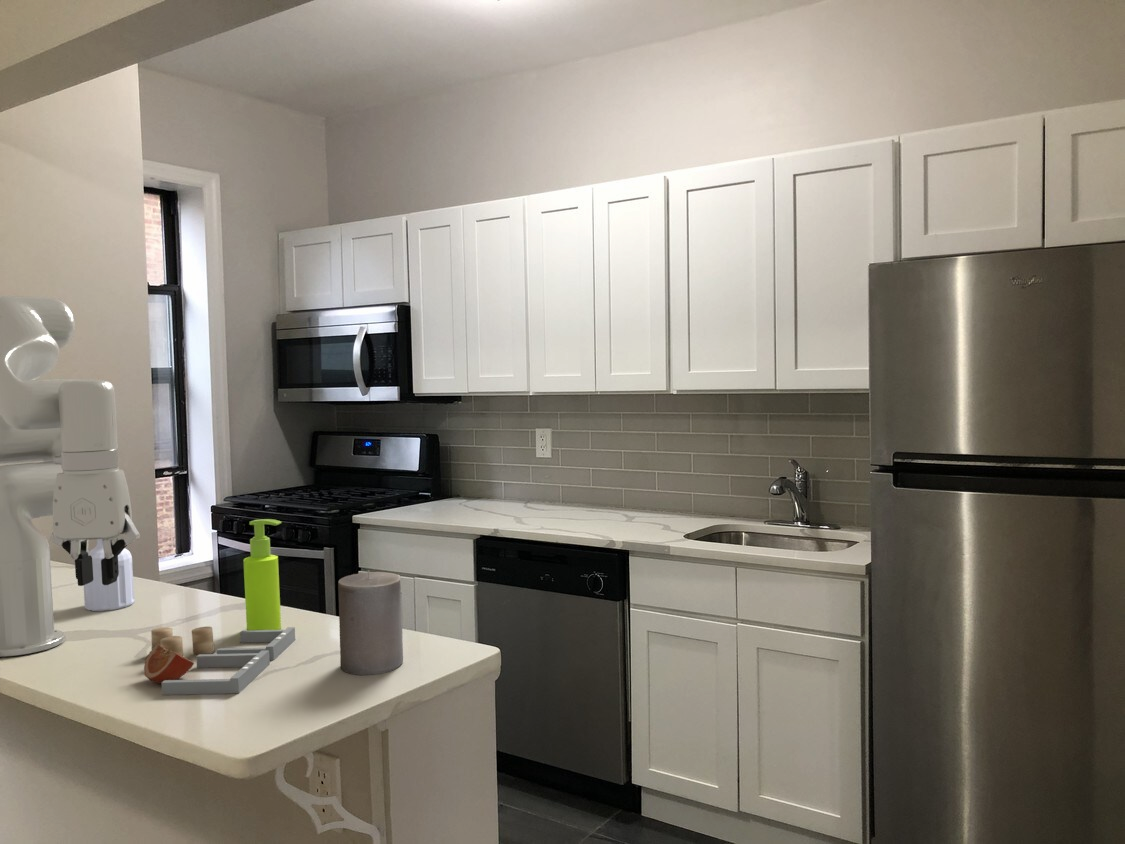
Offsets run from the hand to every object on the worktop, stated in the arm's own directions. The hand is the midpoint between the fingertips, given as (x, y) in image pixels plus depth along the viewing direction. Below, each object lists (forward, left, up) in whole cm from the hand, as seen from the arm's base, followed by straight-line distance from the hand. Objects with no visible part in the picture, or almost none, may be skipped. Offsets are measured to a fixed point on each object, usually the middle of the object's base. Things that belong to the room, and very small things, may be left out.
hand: (97, 582), depth 137 cm
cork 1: (+3, +13, -15) cm, 20 cm away
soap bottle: (-23, +46, -15) cm, 54 cm away
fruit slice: (+10, 0, -16) cm, 19 cm away
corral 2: (+19, +14, -15) cm, 28 cm away
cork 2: (+7, +8, -15) cm, 19 cm away
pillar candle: (+40, +5, -16) cm, 43 cm away
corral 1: (+18, 0, -15) cm, 23 cm away
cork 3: (+10, +13, -15) cm, 22 cm away
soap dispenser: (+16, +26, -15) cm, 34 cm away
